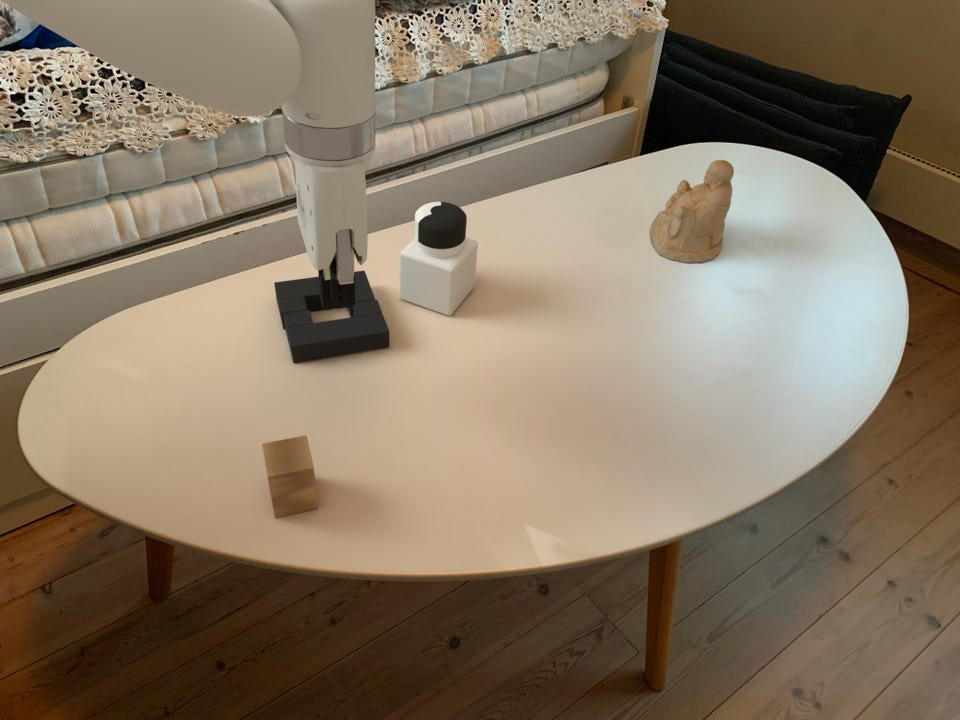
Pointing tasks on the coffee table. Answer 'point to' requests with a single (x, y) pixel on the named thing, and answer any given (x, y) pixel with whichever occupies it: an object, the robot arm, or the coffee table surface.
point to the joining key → (290, 476)
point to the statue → (695, 217)
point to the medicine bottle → (438, 259)
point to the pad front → (336, 333)
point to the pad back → (314, 294)
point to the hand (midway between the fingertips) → (337, 303)
